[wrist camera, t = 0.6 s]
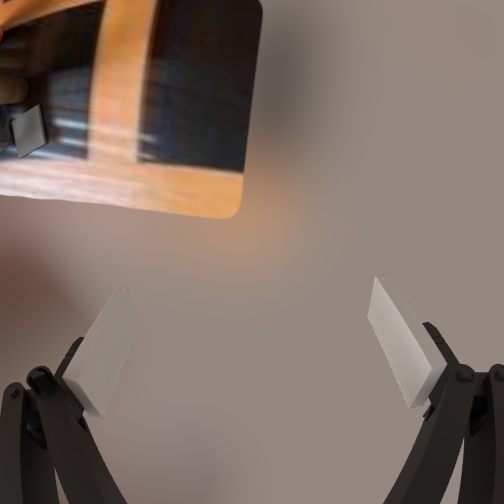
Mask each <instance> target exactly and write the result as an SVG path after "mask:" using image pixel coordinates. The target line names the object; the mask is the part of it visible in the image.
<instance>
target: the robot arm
mask: <svg viewBox="0 0 504 504" xmlns="http://www.w3.org/2000/svg"><path fill="white" fill-rule="evenodd" d="M367 317H368V319H369V321H370V323H371V325H372V327H373V330H374V332H375V334H376V336H377V338H378V340H379V342H380V344H381V346H382V349H383V351H384V353H385V355H386V357H387V359H388V362H389V364H390V366H391V368H392V371H393V373H394V375H395V377H396V380H397V382H398V384H399V387H400V389H401V391H402V394H403V396H404V399H405V401H406V403H407V406H408V408H409V409H411V408H415V407H419V406H422V405H424V403H425V402H426V400H427V398H428V397H429V400H430V402H431V405H430V406H429V408H428V409H427V411H426V412H425V414H424V415H423V417H425V419H424V421H423V424H422V426H421V429H420V432H419V434H418V436H417V438H416V441H415V443H414V445H413V448H412V450H411V452H410V454H409V456H408V458H407V460H406V462H405V465H404V467H403V469H402V471H401V472H400V474H399V477H398V478H397V480H396V482H395V484H394V486H393V487H392V489H391V491H390V493H389V494H388V496H387V498H386V500H385V501H384V503H383V504H440V502H441V500H442V498H443V495H444V493H445V491H446V488H447V486H448V483H449V480H450V478H451V475H452V473H453V470H454V467H455V464H456V461H457V458H458V455H459V452H460V449H461V446H462V442H463V439H464V454H463V467H462V475H461V484H460V491H459V497H458V503H457V504H504V365H501V364H495V365H494V366H492V367H491V369H490V370H489V372H484V373H482V372H474V370H473V369H472V368H471V367H469V366H467V365H465V364H460V363H459V362H458V360H457V358H456V357H455V355H454V354H453V352H452V351H451V349H450V348H449V346H448V345H447V343H445V340H444V338H443V337H441V334H440V332H439V331H438V330H437V328H436V327H434V326H433V325H432V324H430V323H429V322H426V323H421V321H420V320H419V318H418V317H417V315H416V314H415V313H414V311H413V309H412V308H411V306H410V305H409V304H408V302H407V301H406V299H405V298H404V296H403V295H402V294H401V292H400V291H399V289H398V288H397V287H396V285H395V284H394V282H393V281H392V280H391V279H390V277H389V276H388V275H382V276H375V281H374V287H373V292H372V297H371V302H370V307H369V312H368V316H367ZM140 328H141V325H140V322H139V319H138V317H137V314H136V311H135V307H134V304H133V301H132V298H131V295H130V292H129V288H128V287H116V288H115V290H114V292H113V293H112V295H111V296H110V298H109V299H108V301H107V302H106V304H105V305H104V307H103V309H102V310H101V312H100V313H99V315H98V317H97V318H96V320H95V321H94V323H93V324H92V326H91V328H90V329H89V331H88V333H87V334H86V336H85V337H79V338H78V339H77V340H76V341H75V342H74V343H73V344H72V346H71V347H70V349H69V350H68V352H67V354H66V355H65V358H64V359H63V361H62V362H61V364H60V366H59V367H58V369H57V371H56V373H55V375H54V376H53V374H52V373H51V371H50V370H49V368H47V367H45V366H38V367H36V368H34V369H33V370H31V371H30V372H29V374H28V376H27V379H26V382H27V384H28V385H29V386H30V388H31V389H27V390H26V389H25V388H24V387H23V385H22V384H21V383H19V382H14V383H11V384H10V385H9V386H7V388H6V389H5V391H4V394H3V400H2V407H1V415H0V504H59V498H58V492H57V487H56V478H55V470H54V466H55V469H56V472H57V475H58V478H59V480H60V483H61V485H62V488H63V490H64V493H65V495H66V498H67V500H68V502H69V504H127V502H126V501H125V499H124V497H123V496H122V494H121V492H120V491H119V489H118V487H117V485H116V484H115V482H114V480H113V478H112V476H111V474H110V472H109V470H108V469H107V467H106V465H105V463H104V461H103V459H102V457H101V454H100V452H99V451H98V448H97V446H96V444H95V441H94V439H93V437H92V435H91V432H90V430H89V428H88V425H87V423H86V420H85V418H84V417H83V415H82V414H83V411H84V409H85V410H86V412H87V413H88V414H89V415H90V416H91V417H96V418H101V419H104V418H105V415H106V412H107V409H108V406H109V404H110V401H111V398H112V396H113V393H114V391H115V388H116V385H117V383H118V380H119V378H120V375H121V373H122V370H123V368H124V365H125V363H126V361H127V358H128V356H129V353H130V351H131V348H132V346H133V344H134V341H135V339H136V337H137V335H138V332H139V330H140Z"/></svg>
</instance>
